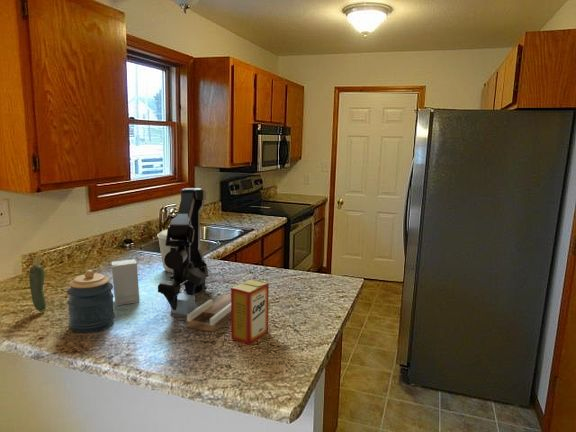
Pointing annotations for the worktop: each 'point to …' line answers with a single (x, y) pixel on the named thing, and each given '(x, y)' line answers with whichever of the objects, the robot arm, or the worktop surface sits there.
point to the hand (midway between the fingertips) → (182, 304)
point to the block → (184, 304)
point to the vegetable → (37, 284)
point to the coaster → (178, 315)
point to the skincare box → (125, 282)
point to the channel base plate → (211, 315)
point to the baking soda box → (249, 311)
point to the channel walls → (205, 307)
